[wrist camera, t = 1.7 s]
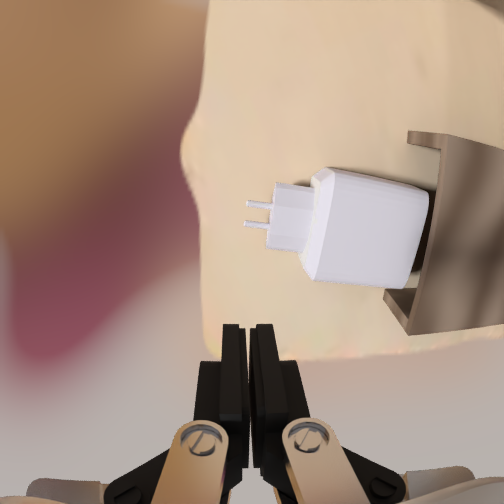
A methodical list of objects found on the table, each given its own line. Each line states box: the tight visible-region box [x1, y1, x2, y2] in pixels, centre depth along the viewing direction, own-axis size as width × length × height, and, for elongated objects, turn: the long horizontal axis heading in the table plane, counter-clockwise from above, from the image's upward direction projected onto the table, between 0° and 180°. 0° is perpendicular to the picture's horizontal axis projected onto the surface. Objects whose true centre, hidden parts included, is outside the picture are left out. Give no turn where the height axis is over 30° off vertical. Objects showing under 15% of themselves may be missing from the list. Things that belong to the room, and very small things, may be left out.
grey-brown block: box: [383, 131, 504, 336], centre depth 22 cm, size 17×17×14 cm
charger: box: [244, 167, 429, 289], centre depth 27 cm, size 5×9×15 cm
